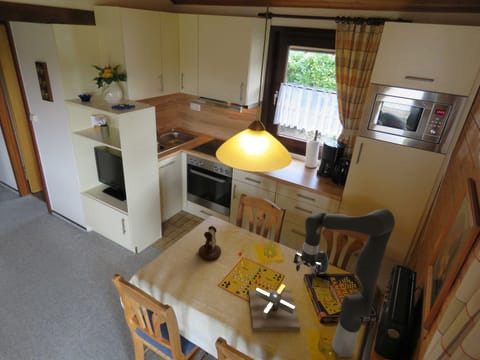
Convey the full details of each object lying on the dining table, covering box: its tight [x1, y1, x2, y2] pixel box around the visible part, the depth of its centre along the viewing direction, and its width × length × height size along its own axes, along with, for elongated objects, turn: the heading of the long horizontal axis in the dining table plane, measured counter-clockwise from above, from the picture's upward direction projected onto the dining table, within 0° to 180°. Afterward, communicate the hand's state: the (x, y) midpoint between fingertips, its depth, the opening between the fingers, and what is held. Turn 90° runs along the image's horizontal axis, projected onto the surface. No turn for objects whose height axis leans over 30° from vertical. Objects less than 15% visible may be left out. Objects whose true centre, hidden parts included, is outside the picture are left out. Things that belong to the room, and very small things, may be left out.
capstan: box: [255, 284, 296, 318], centre depth 161 cm, size 22×22×8 cm
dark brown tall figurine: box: [198, 225, 222, 261], centre depth 197 cm, size 15×15×20 cm
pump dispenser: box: [312, 250, 330, 275], centre depth 190 cm, size 10×10×15 cm
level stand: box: [248, 289, 302, 331], centre depth 164 cm, size 24×24×2 cm
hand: (305, 274), depth 158 cm, fingers open, 8 cm apart
